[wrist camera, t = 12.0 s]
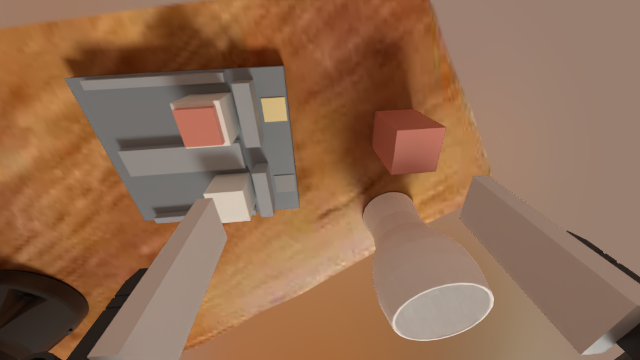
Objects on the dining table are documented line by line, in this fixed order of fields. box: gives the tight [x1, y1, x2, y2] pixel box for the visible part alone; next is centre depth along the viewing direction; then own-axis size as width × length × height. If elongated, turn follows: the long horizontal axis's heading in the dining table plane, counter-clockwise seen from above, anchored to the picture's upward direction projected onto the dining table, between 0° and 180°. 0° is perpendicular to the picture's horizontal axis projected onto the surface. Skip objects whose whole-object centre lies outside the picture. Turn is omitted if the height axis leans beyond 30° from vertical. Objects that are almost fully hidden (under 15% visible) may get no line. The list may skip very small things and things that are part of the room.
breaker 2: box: [203, 172, 256, 223], centre depth 26 cm, size 4×4×4 cm
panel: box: [64, 65, 299, 223], centre depth 25 cm, size 20×17×4 cm
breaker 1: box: [170, 92, 240, 149], centre depth 21 cm, size 4×4×5 cm
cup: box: [363, 192, 494, 341], centre depth 28 cm, size 11×11×15 cm
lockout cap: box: [372, 109, 447, 175], centre depth 24 cm, size 4×4×7 cm
